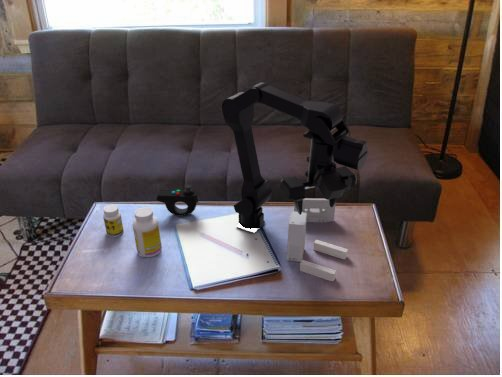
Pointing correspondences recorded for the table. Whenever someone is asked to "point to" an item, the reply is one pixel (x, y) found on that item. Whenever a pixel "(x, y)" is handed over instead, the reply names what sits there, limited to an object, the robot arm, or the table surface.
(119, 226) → the supplement bottle
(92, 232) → the table surface
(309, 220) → the cassette
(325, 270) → the u rest
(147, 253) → the supplement bottle
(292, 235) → the skincare box
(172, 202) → the controller
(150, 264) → the table surface
